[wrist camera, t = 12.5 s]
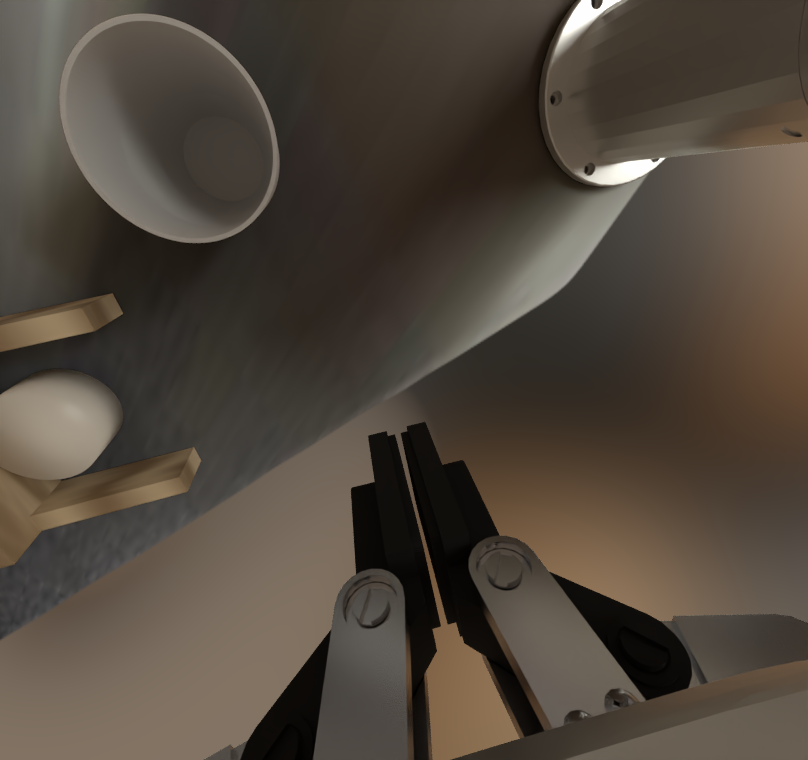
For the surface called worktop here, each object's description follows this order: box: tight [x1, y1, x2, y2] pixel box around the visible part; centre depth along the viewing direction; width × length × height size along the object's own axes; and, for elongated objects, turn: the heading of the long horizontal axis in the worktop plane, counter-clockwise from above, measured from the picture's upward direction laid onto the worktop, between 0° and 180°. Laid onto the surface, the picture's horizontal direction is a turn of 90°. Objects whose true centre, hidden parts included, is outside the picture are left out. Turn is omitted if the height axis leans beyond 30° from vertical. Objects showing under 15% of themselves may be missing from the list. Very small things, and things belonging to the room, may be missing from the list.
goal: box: [0, 293, 201, 568], centre depth 26 cm, size 12×15×7 cm
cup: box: [60, 14, 280, 243], centre depth 21 cm, size 8×8×10 cm
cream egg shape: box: [0, 369, 123, 480], centre depth 28 cm, size 7×7×4 cm
